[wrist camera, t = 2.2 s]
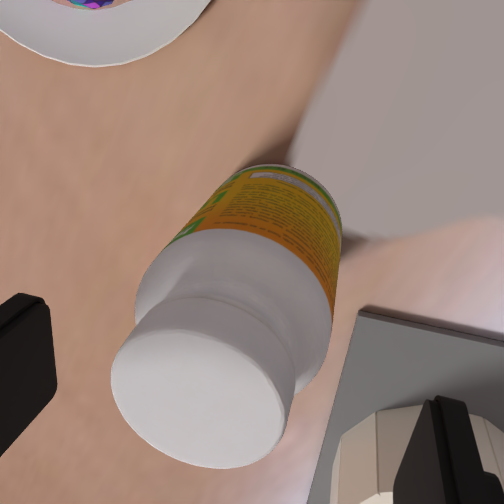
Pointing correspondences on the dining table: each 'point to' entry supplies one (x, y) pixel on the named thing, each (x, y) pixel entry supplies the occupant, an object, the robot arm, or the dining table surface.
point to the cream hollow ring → (394, 455)
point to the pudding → (97, 28)
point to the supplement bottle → (233, 320)
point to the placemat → (408, 379)
